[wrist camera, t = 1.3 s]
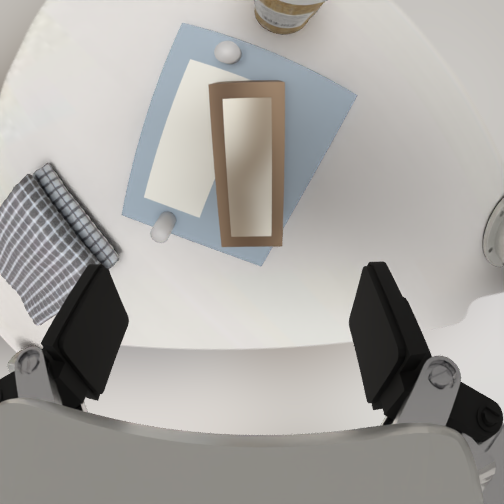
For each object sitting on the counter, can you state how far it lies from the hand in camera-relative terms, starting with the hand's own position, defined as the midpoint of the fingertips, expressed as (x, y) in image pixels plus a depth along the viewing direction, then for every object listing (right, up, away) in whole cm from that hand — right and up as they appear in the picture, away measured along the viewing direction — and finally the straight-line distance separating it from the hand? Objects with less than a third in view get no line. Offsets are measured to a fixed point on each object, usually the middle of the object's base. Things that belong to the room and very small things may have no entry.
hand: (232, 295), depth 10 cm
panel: (-2, +11, +15) cm, 18 cm away
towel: (-26, +3, +22) cm, 34 cm away
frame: (+1, +10, +14) cm, 17 cm away
